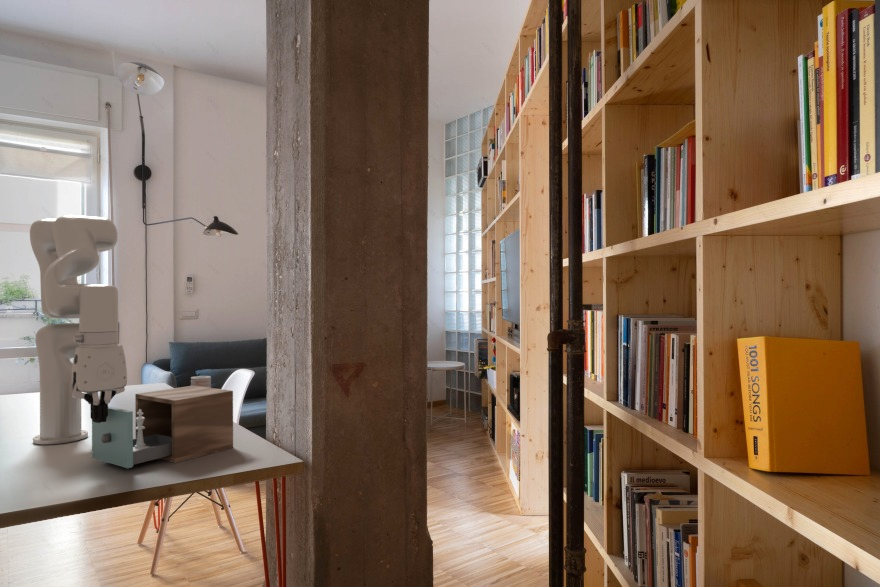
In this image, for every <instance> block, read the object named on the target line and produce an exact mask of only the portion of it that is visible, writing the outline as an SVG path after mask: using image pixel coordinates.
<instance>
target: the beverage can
mask: <svg viewBox="0 0 880 587" xmlns="http://www.w3.org/2000/svg"><path fill="white" fill-rule="evenodd" d="M190 379H191V380H190V386H193V385H194V386H201V387H208V388H212V377H211V376H210V375H198V376H197V375H196V376H191V377H190Z"/></svg>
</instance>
